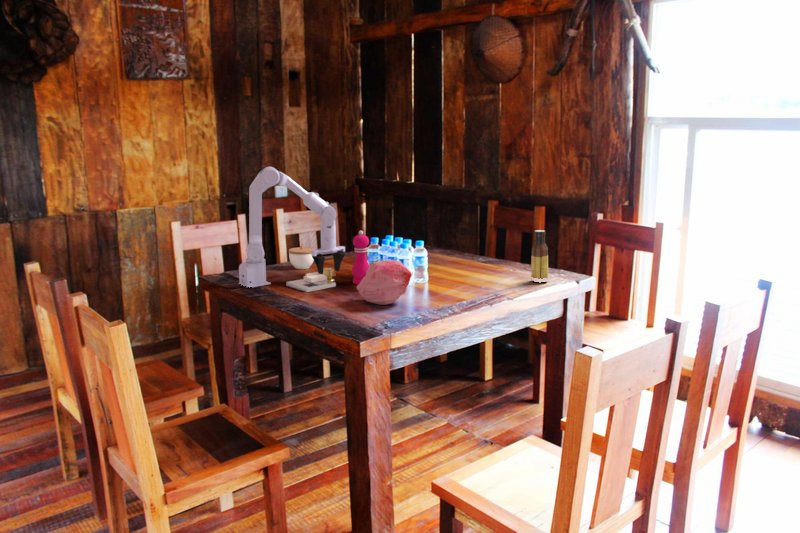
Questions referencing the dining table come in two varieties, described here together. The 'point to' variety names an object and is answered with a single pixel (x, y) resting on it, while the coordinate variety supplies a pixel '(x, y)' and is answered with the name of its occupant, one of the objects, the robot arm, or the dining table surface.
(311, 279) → the cream flat block
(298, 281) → the panel
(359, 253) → the pepper mill
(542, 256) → the sauce bottle
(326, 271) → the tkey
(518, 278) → the dining table surface
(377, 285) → the decorative rock
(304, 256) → the lidded jar
